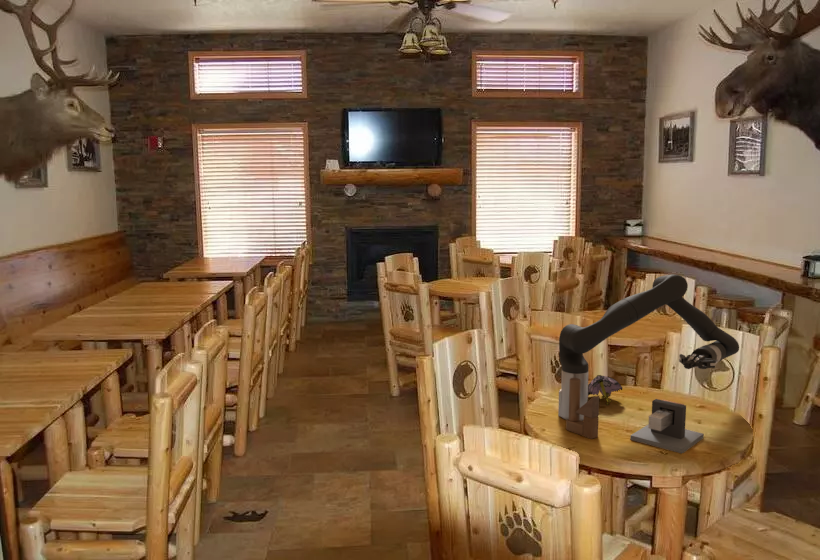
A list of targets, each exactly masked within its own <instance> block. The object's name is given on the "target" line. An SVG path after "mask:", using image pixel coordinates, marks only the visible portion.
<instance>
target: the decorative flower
mask: <svg viewBox="0 0 820 560" xmlns="http://www.w3.org/2000/svg"><path fill="white" fill-rule="evenodd" d="M620 390H621V391H623V386H622V384H620V383H619V382H618V380H616V379H615V378H612V377H609V376H606V375H602V374H597V375H596V377H594V378H593V379H592V380H591V381H590V382H589V383H588V397H589V396H590V395H591V396H594V395H595V396H599V394H601V399H605V400H606V403H605V404H606V406H609V405H610V403H611V402H612V400H611V399H610V398H609V397H610V396H612V394H611V393H612V392H618V391H620Z"/></svg>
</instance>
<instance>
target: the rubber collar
mask: <svg viewBox="0 0 820 560" xmlns="http://www.w3.org/2000/svg"><path fill="white" fill-rule="evenodd" d="M663 400H664V399H658V398H654V399H653V400H651V402H652V403H651V414H653V413H655V412H656V411H658V410H660V409H661V408H666V409H670V410H675V415H674V423H673V424H671V425H670V426H668V427H666V428H665V429H663V430H662V431H658V430H654V429H651V432H655V433H659V434H663V435H666V436H670V437H674V438H678V439H682V438H684V437H685V429H686V418H687V417H686V416H687V404H684V405H682V404H683V403H681V404H677V403H678V402H676V403H673V402H674V401H672V402H668V401H669V400H667V401H663Z"/></svg>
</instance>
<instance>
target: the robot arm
mask: <svg viewBox="0 0 820 560" xmlns="http://www.w3.org/2000/svg"><path fill="white" fill-rule="evenodd" d="M688 284H689V283H688V281H687V279H686V278H685V277H684V276H682V275H681V274H666V275H662V276H658V277H656V278H655V279H654V280H653V282H652V286H651V288H649V289H647V290H644V291H641V292H638V293H635V294H632V295H630V296H627V297H625V298H622V299H621V300H619V301H617V302H615V303H614V304H612V305H611V306H609V307H608V308H607V310H606V311H605V312H604V314H603V316H602V317H601V318H599V319H598V320H597V321H595V322H593V323H592V324H589V325H588V326H587V325H586V326H584V327H582V326H581V325H578V324H574V323H569V324H567V325H564V327H563V328H562V329H561V331H560V333H559V338H558V340H559V341H558V352H559V353H558V354H559V362H560V364H561V379H560V380H561V384H560V385H561V386H560V387H561V388H560V389H559V390H558V409H557V410H558V412H557V413H558V415H557V416H558V417H561V418H562V419H563V420H565V421H566V420H568V419H569V382H570V379H571V378H578V379H580V380H581V383H580V408H581V407H582V406H583V405H584V404H585V403H587V402H588V401H589V396H588V385H589V369H590V367H589V363H588V361H587V360H586V358H585V357H584V354H587V353H588V352H589V351H592V350H593V349H594V348H595V347H597V346H598V345H600V344H601V343H602V342H603V341H605V340H607V339H608V338H610V337H612V336H614V335H615V334H618V332H620V331H622V330H624V329H625V328H628V327H630V326H631V325H633V324H635V323H636V322H638V321H640V320H641V319H643V318H645V317H647V316H648V315H650V314H651V313H652V312H654V311H656V310H657V309H659V308H661V307H664V306H665V305H666V306H668V307H669V308H670V309H672V311H674V312H675V313H676V314H677V315H678V316H679V317H681V319H683V321H684V322H686V323H687V324H688V325H689V326H690V328H692V330H693V331H694V332H695V333H696V335H698V337H700V338H701V339H702V340H703V341H704V342H711V341H712V342H711V343H708V344H704V345H702V346H700V347H698V348H696V349H693V351H692V353H691V354H688V355H684V354H682V353H680V354H679V359H678V362H679V363H681V365H683V367H684V369H686V370H691V369H696V368H698V369H700V370H707V369H715V368H716V365H717V364H718V362H721V361H722V360H724V359H726V358H728V357H731V356H733V355H735V354H738V352H739V351H740V344H739V341H738V340H737V339H736V338H735V337H733V336H732V335H731V334H729V333H728V332H726V331H724V330H723V329H721V328H720V327H719V326H717V325H716V323H715V322H714V321H713V320H712V319H711V318H710V317H709V316H708V315H707V314H706V313H704V312H703V311H702V310H700V309H699V308H698V307H696V306H694V305H693V304H692V303H690V302H689V301H687V300H686V299H685V298H684V295H685V294H687V291H688ZM580 420H581V421H583V422H584V415H581V414H580Z"/></svg>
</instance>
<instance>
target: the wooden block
mask: <svg viewBox="0 0 820 560" xmlns="http://www.w3.org/2000/svg"><path fill="white" fill-rule="evenodd" d="M580 383H581V380H580V379H578V378H571V379H570V382H569V419H568V420H566V419H565V422H566V423H565V429H566V430H567V431H569V432H571V433H575V434H577V435H579V436H583V437H584V438H587V439H591V440H593V439H596V438H598V437H599V419H600V418H599V414H600V413H599V412H600V395H595V396H593V397H591V398H590V399H588V402H587V403H585V404H584V405H583V406H582V407H581V408H580ZM580 414H581V415H584V420H583V421H581V420H580Z"/></svg>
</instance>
